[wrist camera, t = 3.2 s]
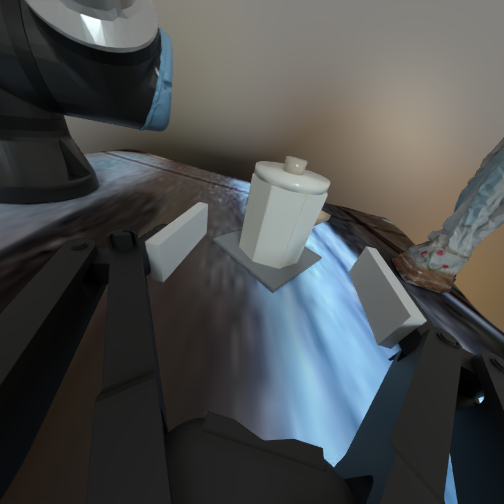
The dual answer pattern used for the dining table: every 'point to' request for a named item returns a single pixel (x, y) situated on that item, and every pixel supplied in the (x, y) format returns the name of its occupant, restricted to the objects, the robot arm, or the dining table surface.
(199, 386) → the dining table surface
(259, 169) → the white lidded jar
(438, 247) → the statue
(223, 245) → the mat
